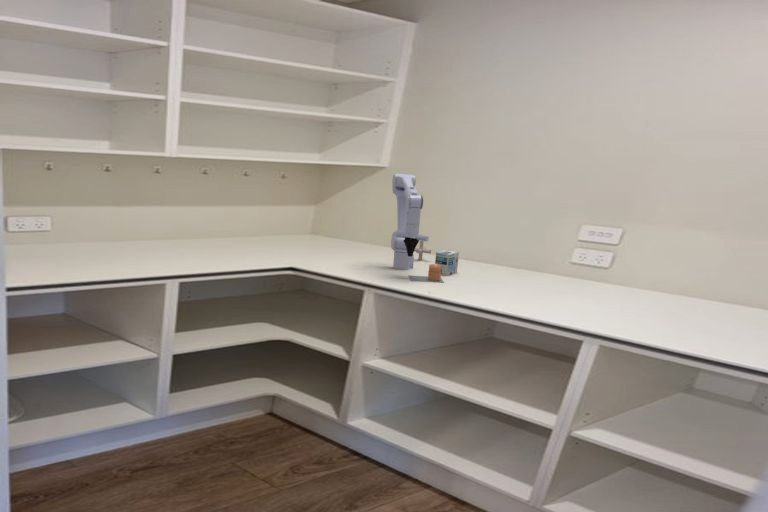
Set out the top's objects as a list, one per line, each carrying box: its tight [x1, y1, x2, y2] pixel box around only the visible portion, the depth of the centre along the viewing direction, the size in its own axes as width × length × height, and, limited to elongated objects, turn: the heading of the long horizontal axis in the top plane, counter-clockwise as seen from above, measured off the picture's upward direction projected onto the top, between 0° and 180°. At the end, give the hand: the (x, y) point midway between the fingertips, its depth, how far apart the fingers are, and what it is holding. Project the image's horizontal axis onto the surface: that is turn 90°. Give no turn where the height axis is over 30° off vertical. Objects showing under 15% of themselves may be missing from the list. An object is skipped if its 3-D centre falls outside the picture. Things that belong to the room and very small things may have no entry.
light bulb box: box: [434, 249, 460, 277], centre depth 233 cm, size 11×7×11 cm, turn 148°
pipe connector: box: [414, 240, 432, 261], centre depth 264 cm, size 10×10×10 cm
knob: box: [427, 263, 442, 281], centre depth 218 cm, size 5×5×6 cm
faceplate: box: [408, 274, 445, 284], centre depth 218 cm, size 14×10×4 cm
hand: (410, 256), depth 220 cm, fingers closed
